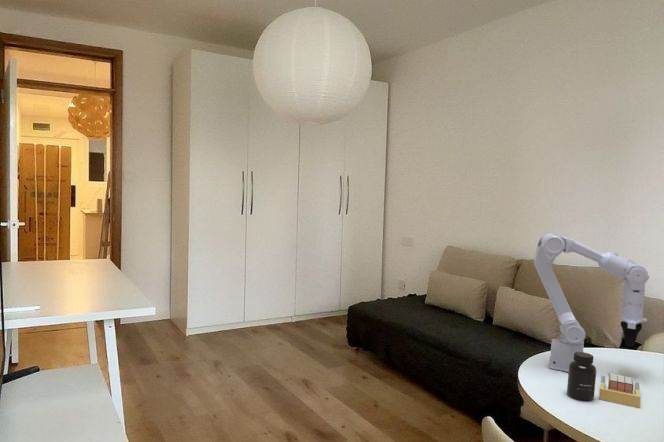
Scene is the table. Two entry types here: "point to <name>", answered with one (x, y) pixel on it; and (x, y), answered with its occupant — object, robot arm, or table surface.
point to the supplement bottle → (581, 377)
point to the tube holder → (620, 395)
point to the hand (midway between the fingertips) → (629, 346)
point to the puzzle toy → (620, 383)
